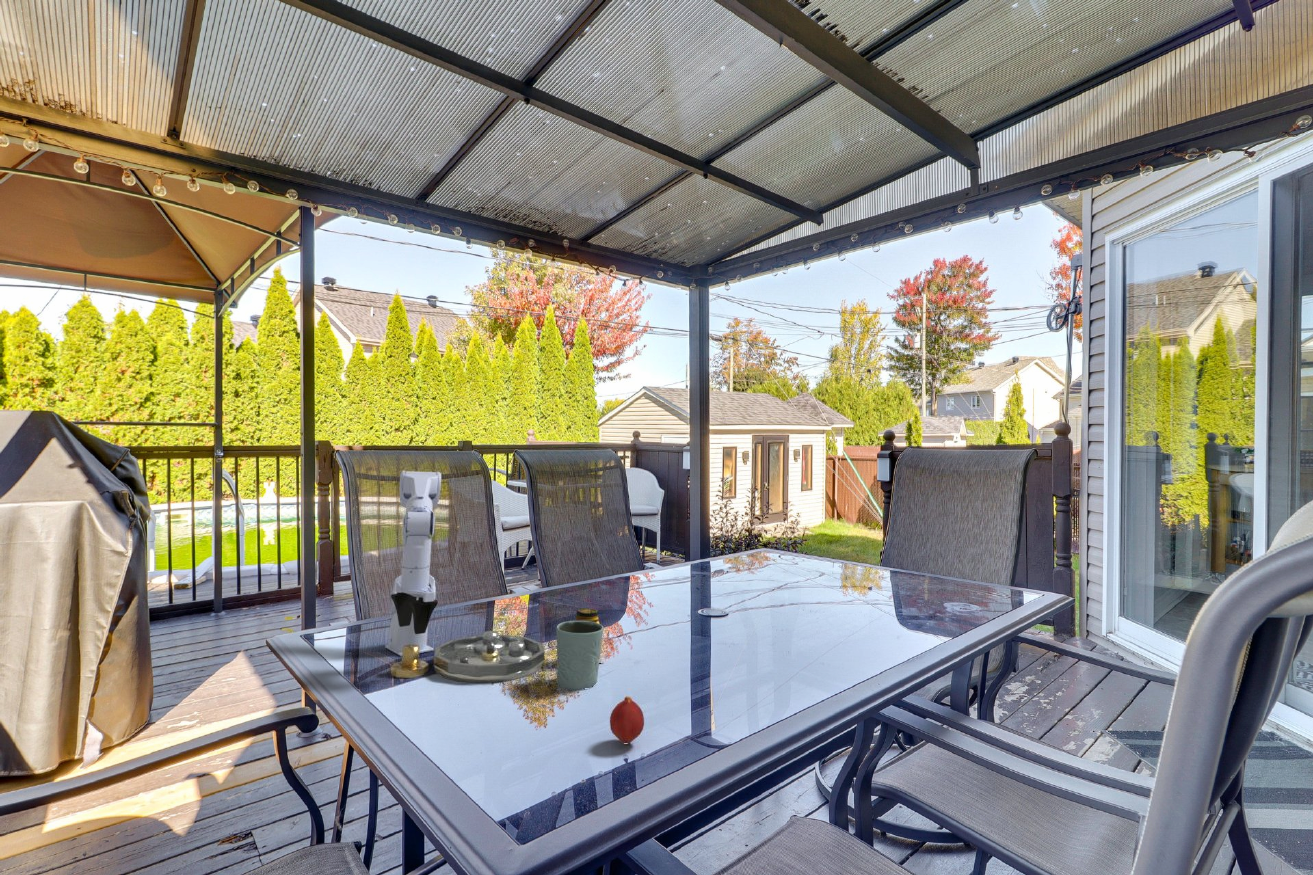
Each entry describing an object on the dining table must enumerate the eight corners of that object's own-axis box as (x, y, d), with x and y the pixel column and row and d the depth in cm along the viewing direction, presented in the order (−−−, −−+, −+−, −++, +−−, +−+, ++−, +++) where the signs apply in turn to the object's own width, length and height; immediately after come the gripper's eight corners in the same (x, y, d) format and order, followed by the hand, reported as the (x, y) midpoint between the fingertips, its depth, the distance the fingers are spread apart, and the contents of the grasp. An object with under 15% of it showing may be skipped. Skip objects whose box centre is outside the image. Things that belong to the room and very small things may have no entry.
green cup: (581, 672, 140) (584, 618, 141) (611, 684, 133) (613, 627, 134) (544, 681, 133) (546, 624, 134) (572, 695, 126) (575, 635, 126)
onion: (608, 736, 108) (610, 688, 108) (642, 736, 108) (644, 689, 108) (609, 751, 102) (611, 701, 102) (644, 751, 102) (646, 701, 103)
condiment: (604, 663, 147) (606, 612, 148) (571, 668, 142) (574, 615, 143) (590, 655, 153) (592, 605, 154) (558, 659, 149) (561, 608, 149)
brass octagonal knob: (386, 671, 135) (388, 645, 136) (417, 664, 140) (419, 640, 141) (400, 679, 130) (402, 653, 131) (432, 673, 135) (434, 647, 136)
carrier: (415, 661, 142) (416, 637, 143) (506, 643, 160) (507, 621, 160) (468, 691, 126) (469, 663, 126) (563, 667, 143) (565, 643, 143)
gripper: (383, 563, 139) (380, 625, 138) (412, 573, 129) (408, 639, 128) (414, 561, 144) (411, 620, 143) (445, 570, 134) (441, 634, 133)
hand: (412, 629), depth 136 cm, fingers open, 7 cm apart
